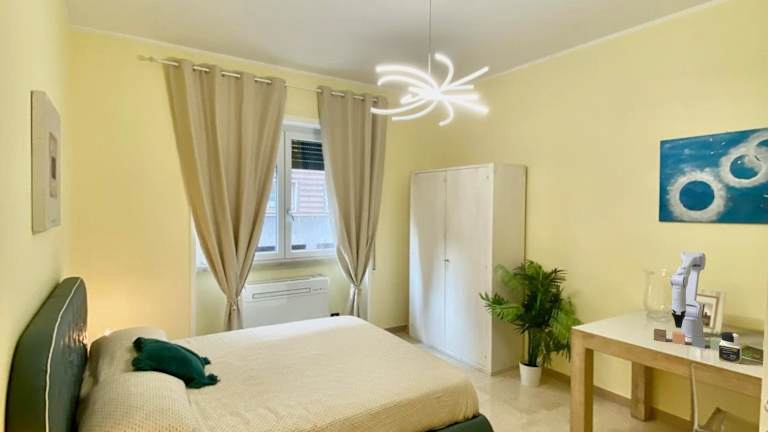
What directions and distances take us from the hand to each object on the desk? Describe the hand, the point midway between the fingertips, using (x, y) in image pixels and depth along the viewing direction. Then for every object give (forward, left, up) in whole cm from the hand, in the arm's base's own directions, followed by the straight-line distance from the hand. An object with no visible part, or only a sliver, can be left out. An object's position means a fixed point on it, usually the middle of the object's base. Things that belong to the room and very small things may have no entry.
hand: (678, 325), depth 205 cm
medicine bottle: (-1, +24, -9) cm, 26 cm away
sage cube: (-9, +12, -9) cm, 17 cm away
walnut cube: (+5, -6, -9) cm, 12 cm away
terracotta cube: (0, 0, -9) cm, 9 cm away
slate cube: (-5, +6, -9) cm, 12 cm away
